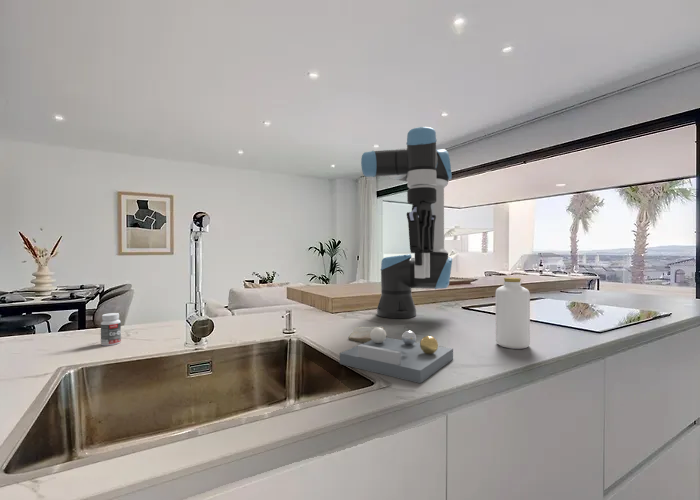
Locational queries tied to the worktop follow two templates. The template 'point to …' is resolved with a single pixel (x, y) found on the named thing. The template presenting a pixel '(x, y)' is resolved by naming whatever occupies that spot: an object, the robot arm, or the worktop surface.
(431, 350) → the brass ball
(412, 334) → the steel ball
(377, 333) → the white ball
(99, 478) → the worktop surface
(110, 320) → the pill bottle
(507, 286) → the potion bottle
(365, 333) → the stone
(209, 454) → the worktop surface
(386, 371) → the board
